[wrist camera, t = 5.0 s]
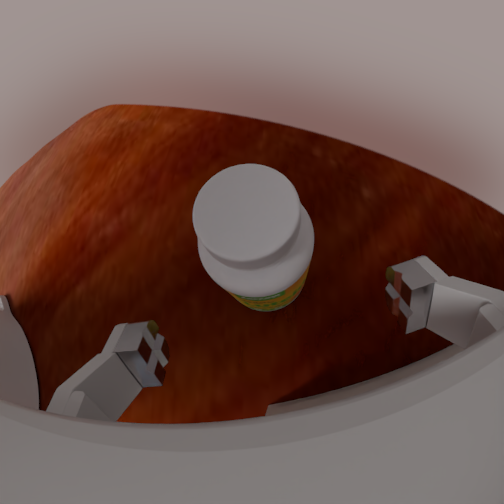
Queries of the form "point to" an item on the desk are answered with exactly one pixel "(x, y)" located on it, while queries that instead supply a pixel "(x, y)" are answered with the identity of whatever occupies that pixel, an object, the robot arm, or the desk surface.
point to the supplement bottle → (254, 235)
